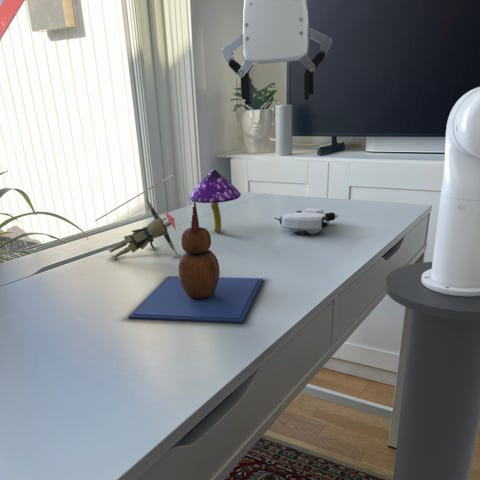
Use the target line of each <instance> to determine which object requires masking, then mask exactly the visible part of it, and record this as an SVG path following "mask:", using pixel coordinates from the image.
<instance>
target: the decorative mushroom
mask: <svg viewBox="0 0 480 480" xmlns="http://www.w3.org/2000/svg"><path fill="white" fill-rule="evenodd" d="M241 195H242V193H241V192H240V190H239V189H237V188H236V187H235V186H234V185H233V184H232V183H231V182H230V181H229V180H228V179H227V178H226V177H224V176H223V175H222V174H221V173H220V172H218V170H216V169H210V170H209V171H208V173H207V174H206V176H205V177H204V178H202V180H201V181H199V183H198V184H197V185H196V186H195V188H194V189H193V191H192V193H190V196H189V198H188V199H189V200H190V201H191V202H193V203H194V202H195V203H199V204H210V207H211V211H212V216H213V231H214V233H220V232H222V217H221V216H222V215H221V211H220V207H219V206H220V205H219V203H225V202H226V203H227V202H231V201H235V200H238V199H239V198H240V197H241Z"/></svg>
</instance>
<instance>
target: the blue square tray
mask: <svg viewBox="0 0 480 480" xmlns="http://www.w3.org/2000/svg"><path fill="white" fill-rule="evenodd" d="M263 282H264V278H260V277H259V278H257V277H256V278H255V277H253V278H251V277H219V280H218V284H217V287H216V290H215V292H214V293H213V294H212V295H211V296H209V297H206V298H203V299H192V298H190V297H189V296H188V295H187V294H186V293H185V291H184V289H183V287H182V285H181V282H180V279H179V276H175V275H174V276H171V275H170V276H169V275H168V276H167V277H166V278H165V279H164V280H163V281H162V282H160V284H159V285H158V286H157V287H156V288H155V289H154V290H153V291H152V292H151V293H150V294H149V295H148V296H147V297H146V298H145V299H143V301H142V302H141V303H140V304H139V305H138V306H137V307H136V308H135V309H134V310H133V311H132V312H131V313H130V314H129V315H128V319H130V320H152V321H153V320H154V321H176V322H198V323H200V322H201V323H220V324H244V322H245V319H246V317H247V315H248V313H249V311H250V309H251V307H252V305H253V303H254V300H255V299H256V296H257V294H258V292H259V291H260V288H261V286H262V284H263Z"/></svg>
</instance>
